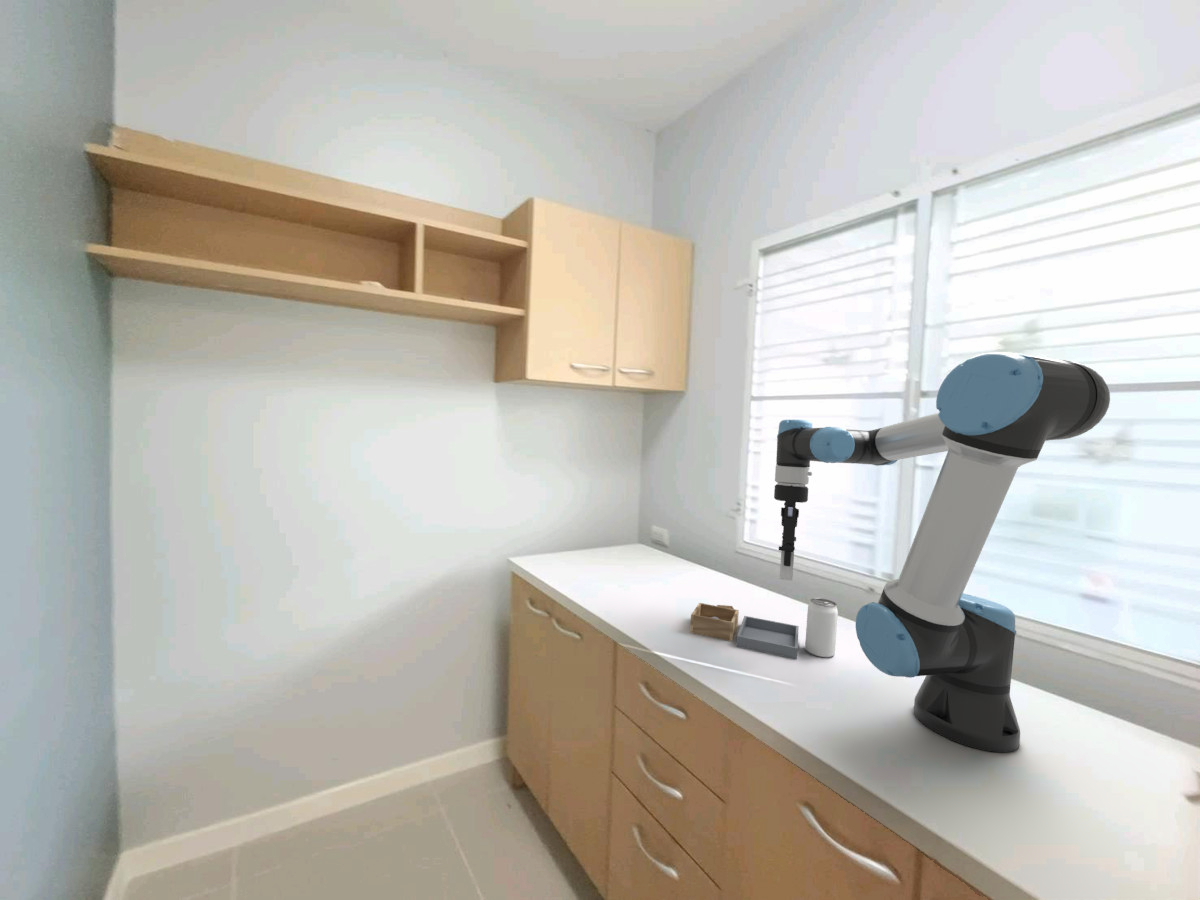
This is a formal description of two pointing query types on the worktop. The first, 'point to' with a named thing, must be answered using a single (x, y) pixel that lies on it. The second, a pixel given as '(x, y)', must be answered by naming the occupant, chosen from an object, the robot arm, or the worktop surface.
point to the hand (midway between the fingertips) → (786, 573)
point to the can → (821, 627)
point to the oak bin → (714, 621)
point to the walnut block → (726, 606)
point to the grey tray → (768, 637)
